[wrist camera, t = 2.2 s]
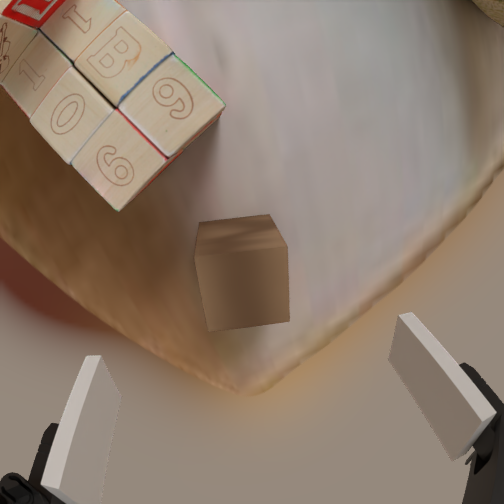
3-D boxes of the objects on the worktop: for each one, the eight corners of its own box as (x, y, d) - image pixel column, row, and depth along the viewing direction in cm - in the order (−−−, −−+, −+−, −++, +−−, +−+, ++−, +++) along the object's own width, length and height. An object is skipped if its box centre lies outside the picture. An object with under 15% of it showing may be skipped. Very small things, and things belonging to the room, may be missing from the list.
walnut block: (269, 214, 22) (287, 246, 17) (273, 275, 24) (289, 321, 19) (199, 222, 22) (193, 257, 16) (208, 283, 24) (208, 331, 18)
